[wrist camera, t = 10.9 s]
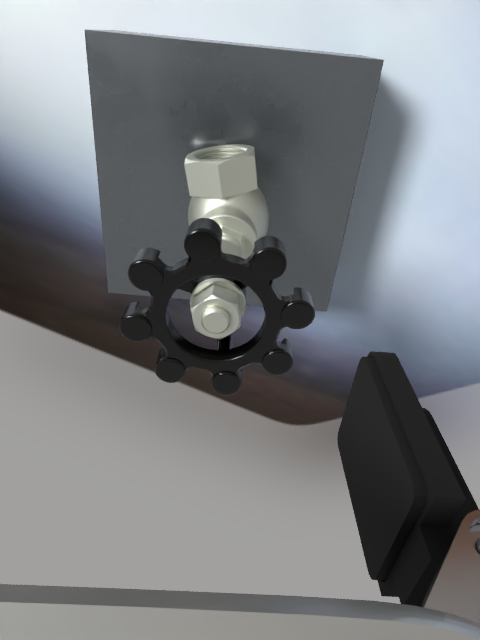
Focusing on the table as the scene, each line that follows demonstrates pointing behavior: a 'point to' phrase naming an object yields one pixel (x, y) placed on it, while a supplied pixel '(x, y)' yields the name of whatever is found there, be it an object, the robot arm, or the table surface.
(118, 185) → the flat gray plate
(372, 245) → the table surface
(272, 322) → the valve
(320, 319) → the table surface
